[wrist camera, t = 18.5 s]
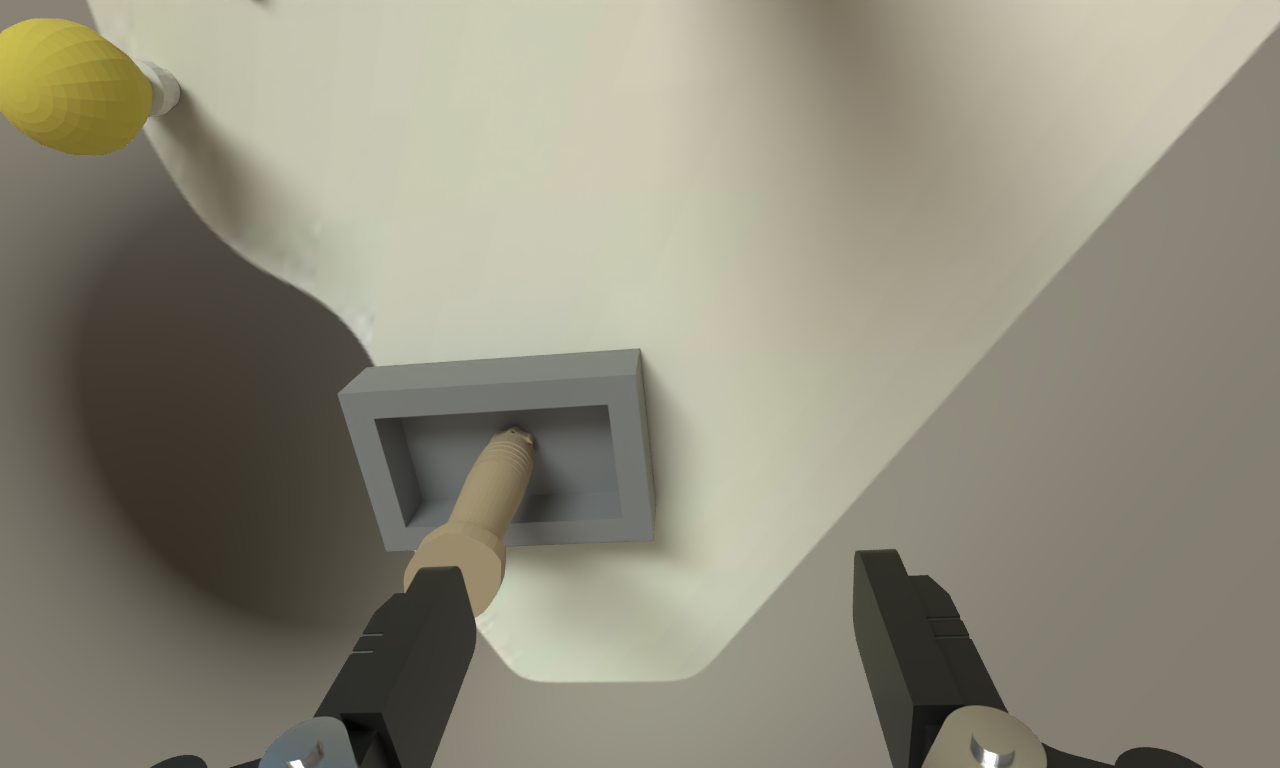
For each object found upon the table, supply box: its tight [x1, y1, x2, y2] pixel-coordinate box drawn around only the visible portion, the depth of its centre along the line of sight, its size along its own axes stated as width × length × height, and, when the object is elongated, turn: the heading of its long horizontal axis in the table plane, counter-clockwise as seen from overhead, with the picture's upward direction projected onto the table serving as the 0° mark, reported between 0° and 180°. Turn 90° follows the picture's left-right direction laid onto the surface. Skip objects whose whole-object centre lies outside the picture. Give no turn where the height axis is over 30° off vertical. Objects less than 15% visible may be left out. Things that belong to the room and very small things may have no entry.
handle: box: [404, 425, 535, 618], centre depth 43 cm, size 5×6×15 cm
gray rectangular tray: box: [338, 349, 656, 551], centre depth 49 cm, size 20×13×4 cm, turn 96°
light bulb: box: [0, 19, 180, 155], centre depth 37 cm, size 7×7×10 cm
